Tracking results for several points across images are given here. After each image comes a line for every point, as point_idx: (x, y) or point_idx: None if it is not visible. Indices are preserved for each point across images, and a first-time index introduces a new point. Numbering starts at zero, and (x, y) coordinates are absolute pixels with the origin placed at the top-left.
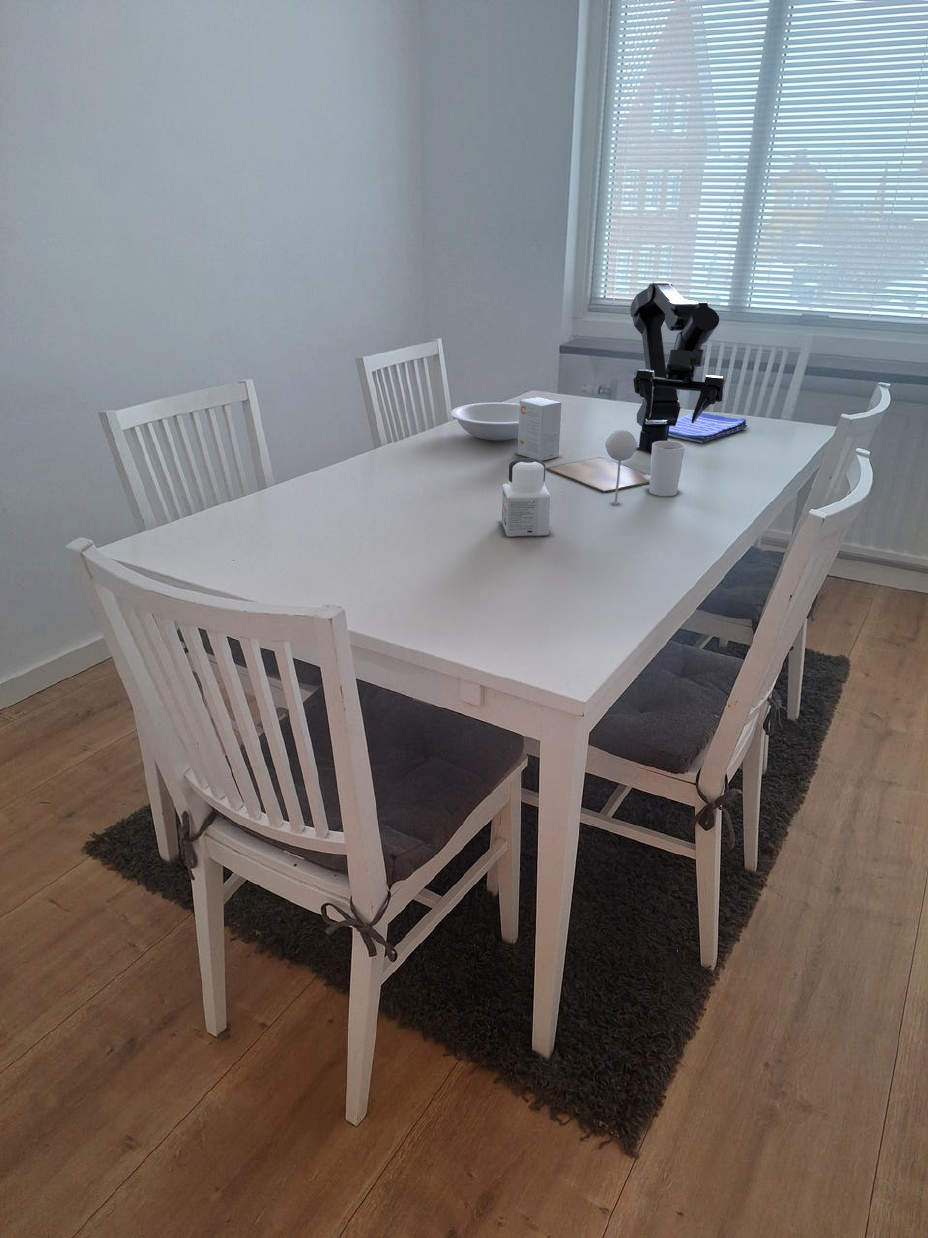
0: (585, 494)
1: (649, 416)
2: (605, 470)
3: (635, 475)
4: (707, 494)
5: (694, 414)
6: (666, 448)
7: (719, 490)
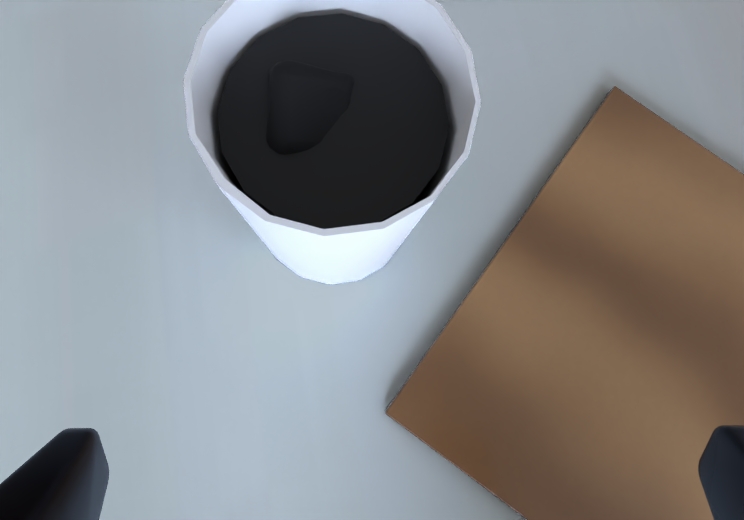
0: (682, 36)
1: (715, 434)
2: None
3: (538, 429)
4: (93, 261)
5: (19, 496)
6: (361, 223)
7: (27, 364)
